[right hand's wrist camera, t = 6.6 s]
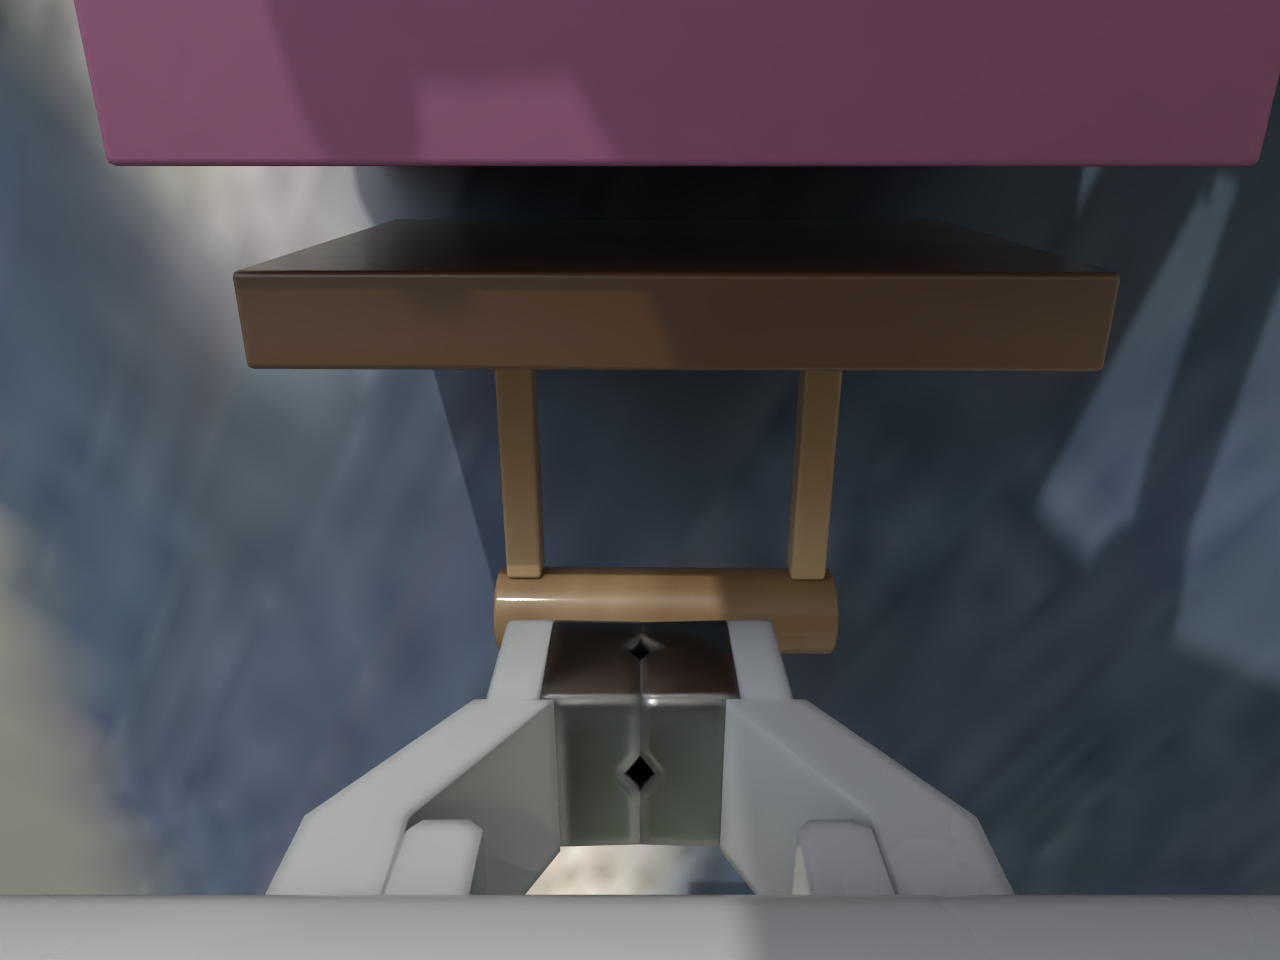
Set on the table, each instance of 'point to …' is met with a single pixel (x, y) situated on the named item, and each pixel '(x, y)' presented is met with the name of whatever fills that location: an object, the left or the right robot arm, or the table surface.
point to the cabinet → (682, 82)
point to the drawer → (675, 354)
